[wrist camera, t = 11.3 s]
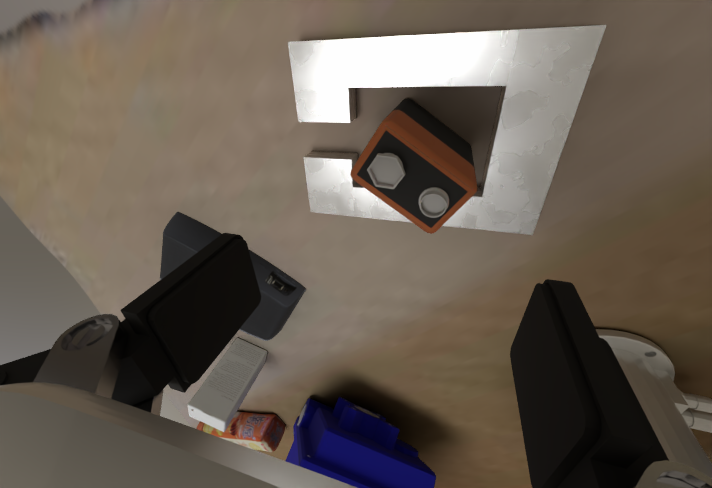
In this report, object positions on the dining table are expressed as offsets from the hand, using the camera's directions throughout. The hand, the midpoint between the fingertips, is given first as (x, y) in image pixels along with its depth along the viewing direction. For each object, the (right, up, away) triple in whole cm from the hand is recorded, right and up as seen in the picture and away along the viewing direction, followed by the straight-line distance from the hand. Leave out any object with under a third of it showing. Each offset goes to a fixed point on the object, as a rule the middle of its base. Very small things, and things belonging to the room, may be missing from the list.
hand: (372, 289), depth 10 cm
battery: (+5, +10, +15) cm, 19 cm away
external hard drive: (-18, -3, +32) cm, 37 cm away
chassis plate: (+5, +10, +15) cm, 19 cm away
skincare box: (-19, -17, +42) cm, 49 cm away
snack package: (-26, -39, +59) cm, 76 cm away
